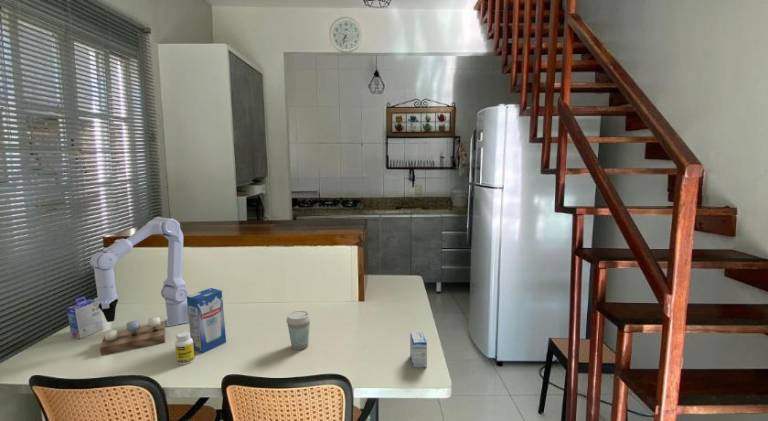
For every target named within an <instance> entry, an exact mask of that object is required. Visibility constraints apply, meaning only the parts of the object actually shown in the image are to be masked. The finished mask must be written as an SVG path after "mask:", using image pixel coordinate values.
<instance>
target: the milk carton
mask: <svg viewBox="0 0 768 421" xmlns="http://www.w3.org/2000/svg"><path fill="white" fill-rule="evenodd" d="M186 297H187V298H186V299H187V306H188V316H189V323H188V324H189V332H190V338H192V340H193V348H194V352H198V353H200V354H205V353H207V352H209V351H211V350H214V349H215V348H218V347H220V346H221V345H223V344H225V343H227V337H226V336H227V335H226V324H225V322H226V321H225V315H224V303H223V290H222V289H217V288H214V287H213V288H212V287H210V288H206V289H204V290H200V291H198V292H195V293H192V294H188V295H187V296H186Z"/></svg>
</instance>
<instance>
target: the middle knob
mask: <svg viewBox="0 0 768 421" xmlns="http://www.w3.org/2000/svg"><path fill="white" fill-rule="evenodd" d="M139 328H141V327H140V321H139V320H131V321H128V322H127V323H126V330H127V331H132V335H135V334H136V330H138V329H139Z"/></svg>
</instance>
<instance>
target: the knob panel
mask: <svg viewBox="0 0 768 421" xmlns="http://www.w3.org/2000/svg"><path fill="white" fill-rule="evenodd" d="M165 343H166V324H165V322H164V323H163V322H162V323H161V324H160V325H159V326H157V330H156V331H153V327H149V325H148V326H143V327H142V326H141V327H140V328H139V329H138V330H136V334H135V335H132V331H127V329H126V330H120V331H118V338H117V339H115V340H112V341H106V340H105V334H104V335H103V338H102V341H101V343H100V346H99V351H100V352H99V353H100V356H101V357H103V356H106V355H112V354H117V353H122V352H126V351H131V350H135V349H136V350H137V349H141V348H145V347H149V346H154V345H160V344H165Z"/></svg>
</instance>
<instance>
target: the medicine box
mask: <svg viewBox="0 0 768 421" xmlns="http://www.w3.org/2000/svg"><path fill="white" fill-rule="evenodd" d="M409 336H410V337H409V338H410V339H409V345H410V346H409V354H410V355H409V356H410V359H411V363H412V366H413V368H427V367H428V343H427V341H426V337H425V334H424V332H423V331H411V332H410V333H409Z"/></svg>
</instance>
